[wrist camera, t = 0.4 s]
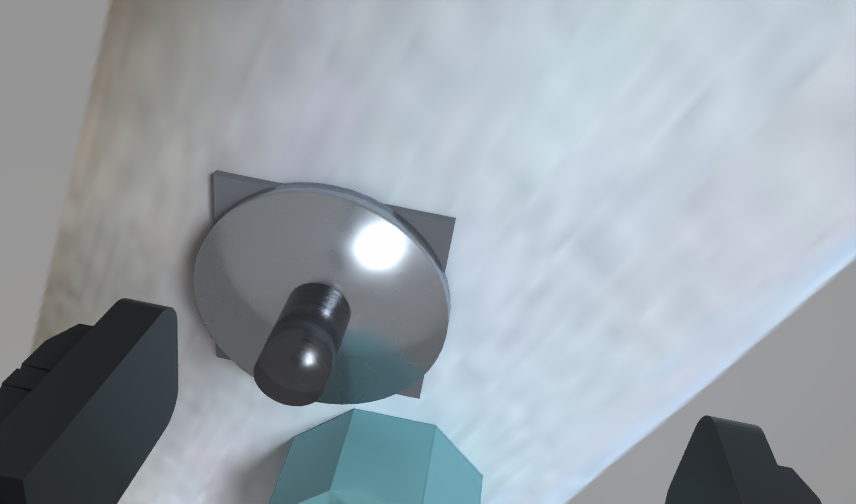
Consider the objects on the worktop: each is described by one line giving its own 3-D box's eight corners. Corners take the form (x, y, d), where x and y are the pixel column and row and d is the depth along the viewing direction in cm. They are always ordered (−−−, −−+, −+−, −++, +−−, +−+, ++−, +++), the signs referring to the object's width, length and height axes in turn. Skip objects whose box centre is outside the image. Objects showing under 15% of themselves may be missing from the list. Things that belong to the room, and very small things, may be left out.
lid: (198, 158, 29) (135, 226, 24) (471, 212, 29) (459, 292, 24) (204, 363, 35) (155, 447, 31) (429, 409, 35) (413, 501, 30)
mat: (216, 170, 30) (213, 174, 29) (455, 218, 29) (454, 223, 29) (219, 351, 35) (216, 356, 35) (420, 392, 35) (419, 398, 35)
